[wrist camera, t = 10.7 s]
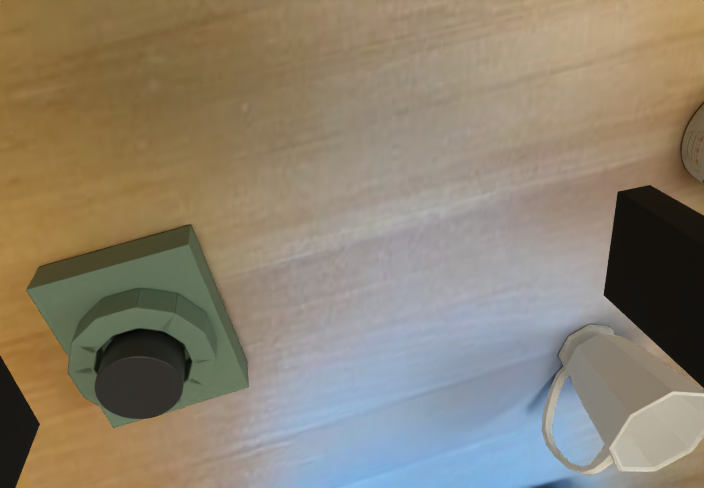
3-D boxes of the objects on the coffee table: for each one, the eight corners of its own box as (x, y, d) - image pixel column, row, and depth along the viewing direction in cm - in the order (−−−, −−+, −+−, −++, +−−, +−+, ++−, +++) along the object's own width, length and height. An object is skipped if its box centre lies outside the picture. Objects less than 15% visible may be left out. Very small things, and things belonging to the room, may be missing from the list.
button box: (38, 266, 28) (12, 311, 25) (190, 224, 29) (186, 263, 25) (119, 400, 33) (107, 453, 30) (247, 362, 34) (250, 410, 30)
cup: (649, 332, 40) (738, 414, 33) (553, 423, 43) (617, 516, 36) (593, 292, 37) (678, 373, 30) (493, 392, 40) (551, 488, 33)
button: (88, 343, 27) (78, 371, 25) (168, 319, 27) (165, 346, 25) (122, 399, 29) (115, 429, 27) (196, 377, 29) (195, 405, 27)
